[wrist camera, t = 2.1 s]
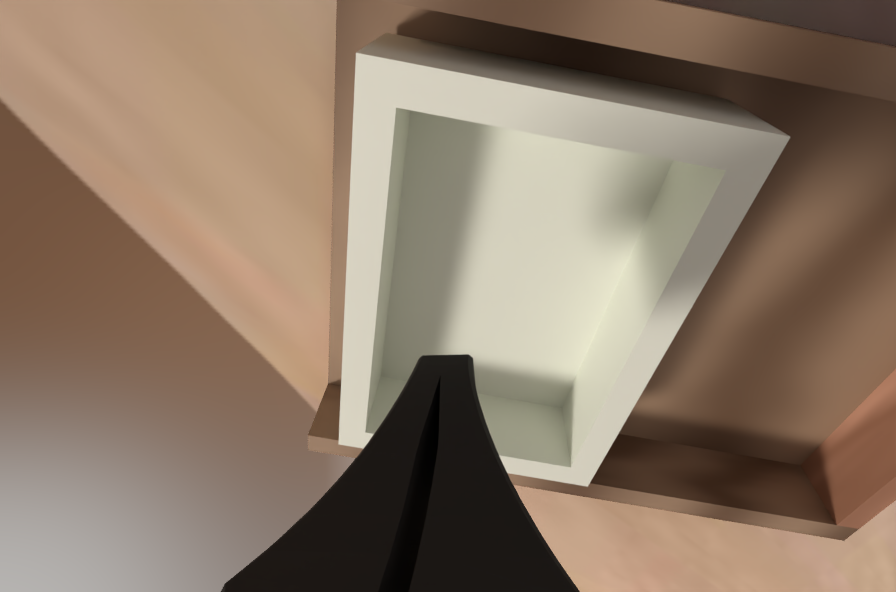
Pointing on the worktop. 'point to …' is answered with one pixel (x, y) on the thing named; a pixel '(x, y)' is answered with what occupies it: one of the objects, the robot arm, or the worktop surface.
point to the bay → (738, 270)
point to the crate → (531, 238)
